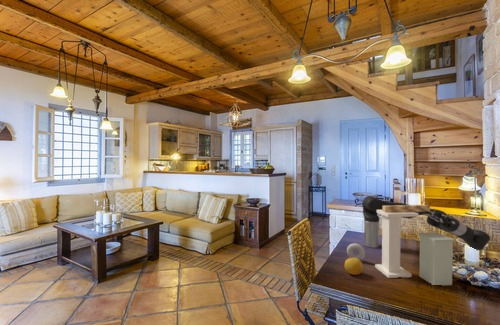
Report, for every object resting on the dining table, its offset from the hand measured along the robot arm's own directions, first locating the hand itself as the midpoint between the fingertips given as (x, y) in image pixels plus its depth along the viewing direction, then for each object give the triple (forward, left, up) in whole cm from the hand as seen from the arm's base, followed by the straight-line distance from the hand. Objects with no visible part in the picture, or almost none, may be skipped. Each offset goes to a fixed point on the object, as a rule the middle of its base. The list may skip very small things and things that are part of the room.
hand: (427, 210), depth 129 cm
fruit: (-35, -20, -32) cm, 52 cm away
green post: (+2, -11, -32) cm, 34 cm away
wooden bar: (-10, -6, 0) cm, 12 cm away
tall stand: (-15, -8, -32) cm, 36 cm away
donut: (-35, -2, -32) cm, 47 cm away
